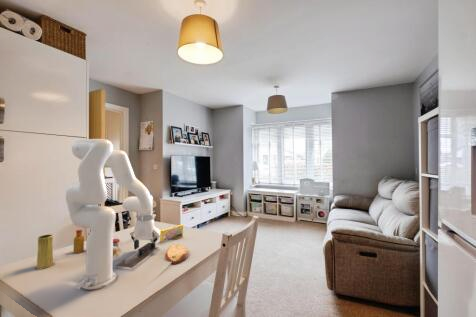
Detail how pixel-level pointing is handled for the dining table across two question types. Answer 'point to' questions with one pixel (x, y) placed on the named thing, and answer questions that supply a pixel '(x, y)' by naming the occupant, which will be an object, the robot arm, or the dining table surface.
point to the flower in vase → (154, 217)
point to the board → (137, 260)
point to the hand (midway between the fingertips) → (144, 249)
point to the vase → (45, 251)
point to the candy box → (171, 233)
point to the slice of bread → (176, 253)
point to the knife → (138, 253)
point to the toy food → (80, 243)
